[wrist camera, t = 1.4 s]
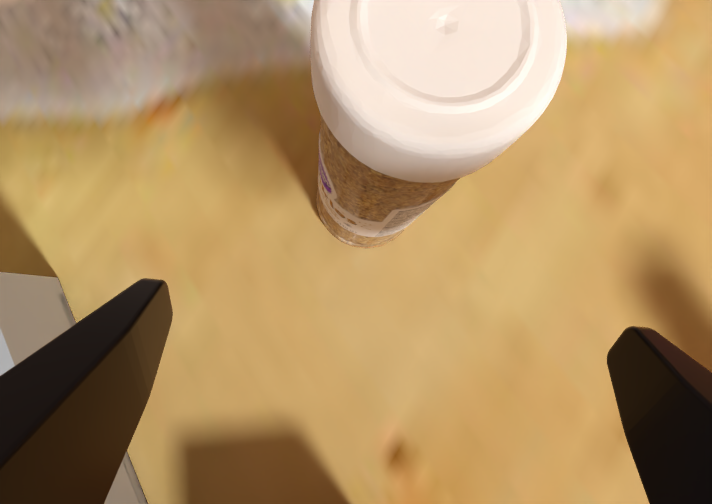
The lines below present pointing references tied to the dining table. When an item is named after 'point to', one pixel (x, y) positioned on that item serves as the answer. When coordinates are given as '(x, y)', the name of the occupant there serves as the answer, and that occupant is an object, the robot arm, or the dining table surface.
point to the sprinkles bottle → (422, 100)
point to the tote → (34, 330)
